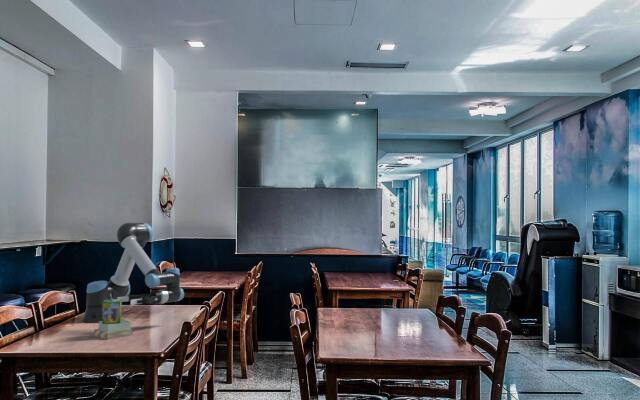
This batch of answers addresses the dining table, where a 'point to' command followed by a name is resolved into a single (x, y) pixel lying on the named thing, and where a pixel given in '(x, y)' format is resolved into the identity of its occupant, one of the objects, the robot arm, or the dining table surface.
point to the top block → (115, 326)
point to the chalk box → (111, 311)
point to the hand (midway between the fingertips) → (123, 301)
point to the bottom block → (112, 334)
